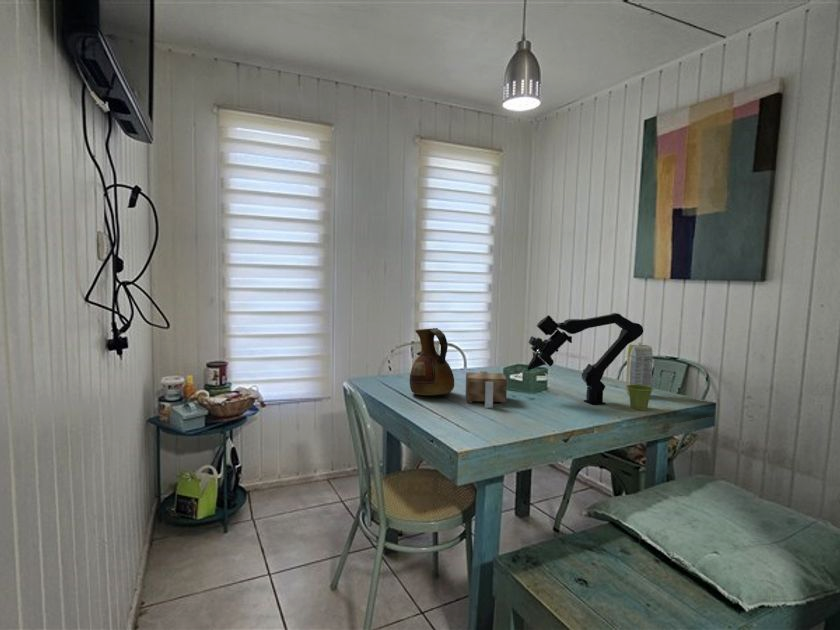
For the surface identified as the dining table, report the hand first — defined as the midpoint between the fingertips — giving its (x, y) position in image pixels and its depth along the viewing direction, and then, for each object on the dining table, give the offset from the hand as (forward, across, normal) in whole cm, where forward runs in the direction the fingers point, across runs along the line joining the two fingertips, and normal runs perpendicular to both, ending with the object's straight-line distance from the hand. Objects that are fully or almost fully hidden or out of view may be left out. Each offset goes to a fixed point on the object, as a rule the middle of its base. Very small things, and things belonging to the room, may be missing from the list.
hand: (527, 369), depth 197 cm
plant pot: (-20, +9, +41) cm, 46 cm away
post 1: (+22, -10, -3) cm, 24 cm away
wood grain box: (+22, +2, -4) cm, 22 cm away
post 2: (+21, +12, -4) cm, 25 cm away
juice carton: (-25, -12, +48) cm, 55 cm away
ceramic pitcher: (+38, -6, -20) cm, 43 cm away
